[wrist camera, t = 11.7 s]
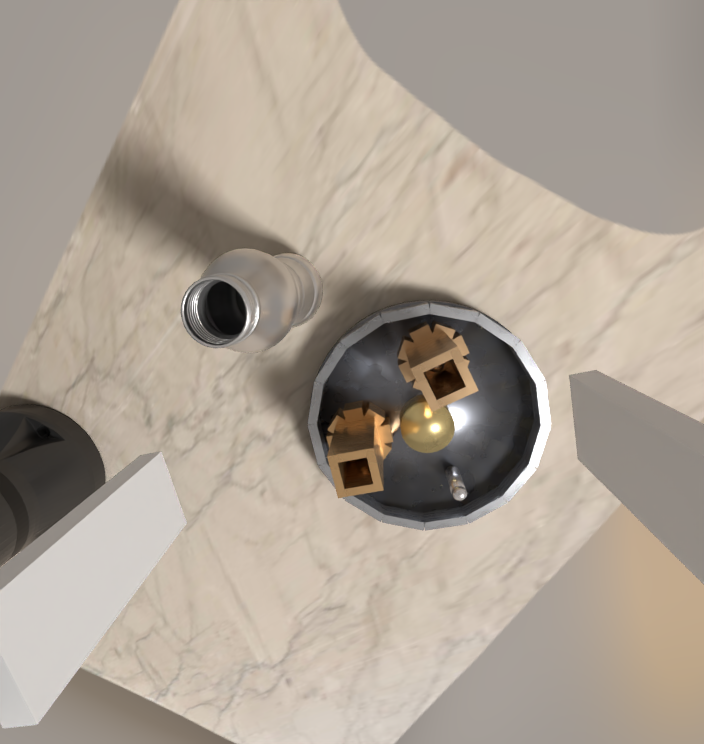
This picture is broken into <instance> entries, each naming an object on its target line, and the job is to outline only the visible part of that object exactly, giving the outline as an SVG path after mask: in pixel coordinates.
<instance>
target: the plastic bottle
mask: <svg viewBox="0 0 704 744" xmlns="http://www.w3.org/2000/svg"><path fill="white" fill-rule="evenodd" d="M322 296H323V285H322V281H321V277H320V275H319V273H318V271H317V270H316V268H315V267H314V265H313V264H312V263H311V262H309V261H308V260H307V259H305V258H304V257H302V256H299V255H297V254H292V253H282V254H278V255H274V256H271V255H270V254H267V253H265V252H262V251H259V250H256V249H249V248H243V249H235V250H232V251H228V252H226V253H224V254H222V255H221V256H219V257H218V258H216V259H215V260H214V261H213V262H212V263H211V264H210V265H209V266H208V267H207V269H206V270H205V271H204V273H203V274H202V276H201V278H200V279H199V280H198V281H196V282H194V283H193V284H192V285H191V286H190V287H189V288H188V290H187V291H186V292H185V295H184V297H183V299H182V304H181V317H182V321H183V324H184V326H185V328H186V330H187V332H188V333H189V334H190V336H191V337H192V338H193V339H194V340H196V341H197V342H198V343H200V344H202V345H204V346H207V347H211V348H224V347H225V348H227V349H230V350H233V351H237V352H242V353H257V352H261V351H265V350H267V349H269V348H271V347H273V346H275V345H276V344H277V343H279V342H280V341H281V340H282V339H283V338H284V337H285V336H286V334H287V333H288V332H289V331H290V329H291V328H293V327H297V326H300V325H302V324H304V323H306V322H308V321H309V320H310V319H311V318H312V317H313V316H314V315H315V314H316V312H317V311H318V309H319V307H320V304H321V301H322Z"/></svg>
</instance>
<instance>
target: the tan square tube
mask: <svg viewBox="0 0 704 744" xmlns="http://www.w3.org/2000/svg"><path fill="white" fill-rule="evenodd" d="M408 331H409V333H410V335H411V337H412V338H409V337H406V336H403V337H402V340H401V343H400V346H399V348H398V351H397V357H398V358H399V360H397V362H398V366H399V368H400V370H401V372H402V374H403V376H404V378H405V380H406V382H410V381H411V383H412V387H413V388H415V389H418V390H421V391H422V393H423V395H424V397H425V399H426V401H427V403H428V405H429V407H430V409H431V411H432V412H433V411H435V410H437V409H440V408H442V407H444V406H446V405H448V404H451V403H453V402H455V401H457V400H459V399H462V398H464V397H466V396H468V395H470V394H473V393H475V392H477V391H479V390H478V388H477V386H476V384H475V382H474V380H473V378H472V375H471V373H470V371H469V369H468V364H469V362H470V360H469V359H468V358H467V357H466V356H465V355H467V354H469V350H468V348H467V346H466V344H465V342H464V340H463V338H462V335H461V334H459V333H458V332H455V329H454V328H453V327H452V326H448V325H445V324H442V323H439V322H436V321H433V322H432V325H431V328H430V327H429V325H428V324H427V322H426V321H425V322H423V323H421V324H419V325H417V326H415V327H413V328H411V329H409V330H408ZM443 363H444V368H443V369H442V370H441V371H440V372H433V371H431V370H430V369H432V368H434V367H436V366H438V365H441V364H443Z"/></svg>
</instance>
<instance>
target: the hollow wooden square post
mask: <svg viewBox="0 0 704 744" xmlns="http://www.w3.org/2000/svg"><path fill="white" fill-rule="evenodd" d="M327 430H328V433H327V436H326V438H327V442H328V445H329V451H328V455H327V458H328V462H329V466H330V469H331V473H332V477H333V481H334V484H335V488H336V492H337V496H338V498H342V497H348V496H354V495H359V494H365V493H371V492H377V491H383V490H384V480H383V460H384V459H385V458H386V456H387V455H388V453H389V452H390V451H391V449H392V442H393V432H392V428H391V423H390V419H389V416H388V417H385V411H384V410H383V409H381V408H380V407H378V406H376V405H375V404H373V403H371V402H369V403H368V405H367V406H366V408H364V404H363V400H361V401H356V402H351V403H346V404H345V406H344V409H341V408H339V409H338V410H337V412H336V413H335V415H334V416H333V418H332V419H331V421H330V423H329V426H328V429H327Z"/></svg>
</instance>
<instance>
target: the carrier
mask: <svg viewBox="0 0 704 744" xmlns="http://www.w3.org/2000/svg"><path fill="white" fill-rule="evenodd" d="M425 321H426V322H427V324H428V325H429V327H430V328H431V325H432V322H433V321H436V322H439V323H442V324H445V325H448V326H452V327H453V328H454V329H455V332H458V333H459V334H461V335H462V338H463V340H464V342H465V344H466V346H467V348H468V350H469V354H467V355H465V356H466V357H467V358H468V359H469V360H470V362H469V364H468V369H469V371H470V373H471V375H472V378H473V380H474V382H475V384H476V386H477V388H478V390H479V391H477V392H475V393H473V394H470V395H468V396H466V397H464V398H462V399H459V400H457V401H455V402H453V403H451V404H448V405H446V406H444V407H442V408H440V409H437V410H435V411H433V412H432V411H431V409H430V407H429V405H428V403H427V401H426V399H425V397H424V395H423V393H422V391H421V390H418V389H415V388H413V387H412V383H411V381H410V382H406V380H405V378H404V376H403V374H402V372H401V370H400V368H399V366H398V362H397V360H399V358H398V357H397V351H398V348H399V346H400V343H401V340H402V337H403V336H406V337H409V338H412V337H411V335H410V333H409V331H408V330H409V329H411V328H413V327H415V326H417V325H419V324H421V323H423V322H425ZM443 368H444V363H443V364H441V365H438V366H436V367H434V368H432V369H430V370H431V371H433V372H440V371H441V370H442V369H443ZM361 400H363V404H364V408H366V406H367V405H368V403H369V402H371V403H373V404H375V405H376V406H378V407H380V408H381V409H383V410H384V411H385V417H388V416H389V419H390V423H391V428H392V432H393V442H392V449H391V451H390V452H389V453H388V455H387V456H386V458H385V459H384V460H383V480H384V490H383V491H377V492H371V493H365V494H359V495H354V496H348V497H342V498H343V499H345V501H347V502H348V503H350V504H352V505H353V506H355V507H357V508H358V509H360V510H362V511H363V512H365V513H367V514H368V515H370V516H372V517H373V518H375V519H377V520H378V521H380V522H381V520H382V522H383V523H388V524H393V525H398V526H403V527H408V528H414V529H419V530H424V527H425V530H432V529H438V528H445V527H451V526H458V525H465V524H468V523H467V521H468V522H469V523H471V522H473V521H475V520H477V519H479V518H480V517H482V516H484V515H486V514H488V513H490V512H492V511H493V510H495V509H497V508H499V507H501V506H503V505H504V504H506V503H507V501H508V502H509V501H510V500H511V499H512V497H513V496H514V495H515V494H516V493H517V492H518V490H519V489H520V488H521V487H522V486H523V485H524V483H525V482H526V481H527V480H528V479H529V478H530V476H531V475H532V474H533V473H534V472H535V471H536V467H538V465H539V462H540V459H541V456H542V452H543V449H544V446H545V443H546V440H547V437H548V434H549V431H550V428H551V426H550V425H551V420H550V412H549V403H548V394H547V386H546V381H545V378H544V376H543V375H542V373H541V372H540V370H539V368H538V367H537V365H536V364H535V362H534V360H533V359H532V357H531V356H530V354H529V352H528V351H527V349H526V347H525V346H524V344H523V343H522V341H521V340H520V339H519V338H517V337H516V336H514V335H513V334H512V333H511V332H510V331H509V330H507V329H506V328H505V327H504V326H502V325H501V324H500V323H498V322H497V321H495V320H494V319H492V318H490V317H488V316H487V315H485V314H483V313H481V312H479V311H476V310H474V309H472V308H469V307H467V306H463V305H459V304H455V303H451V302H444V301H436V300H423V301H412V302H405V303H400V304H397V305H393V306H390V307H387V308H384V309H382V310H380V311H377V312H375V313H373V314H371V315H369V316H368V317H366V318H364V319H363V320H361V321H359V322H358V323H357V324H356V325H354V326H353V327H352V328H351V329H349V330H348V331H347V332H346V333H345V334H344V335H343V336H342V337H341V338H340V339H339V340H338V341H337V342H336V344H335V345H334V346H333V348H332V349H331V351H330V352H329V353H328V355H327V357H326V359H325V360H324V362H323V364H322V366H321V368H320V370H319V372H318V375H317V377H316V379H315V381H314V386H313V391H312V396H311V405H310V411H309V418H308V429H309V433H310V437H311V440H312V444H313V448H314V452H315V456H316V459H317V463H318V465H319V468H320V469H321V470H322V472H323V473H324V474H325V476H326V477H327V478H328V480H329V481H330V482H331V483H332V485H333V486H334V487H335V484H334V481H333V477H332V473H331V469H330V466H329V462H328V458H327V455H328V451H329V445H328V442H327V438H326V436H327V433H328V430H327V429H328V426H329V423H330V421H331V419H332V418H333V416H334V415H335V413H336V412H337V410H338V409H339V408H341V409H344V406H345V404H346V403H351V402H356V401H361ZM335 489H336V488H335ZM506 500H507V501H506Z"/></svg>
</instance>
